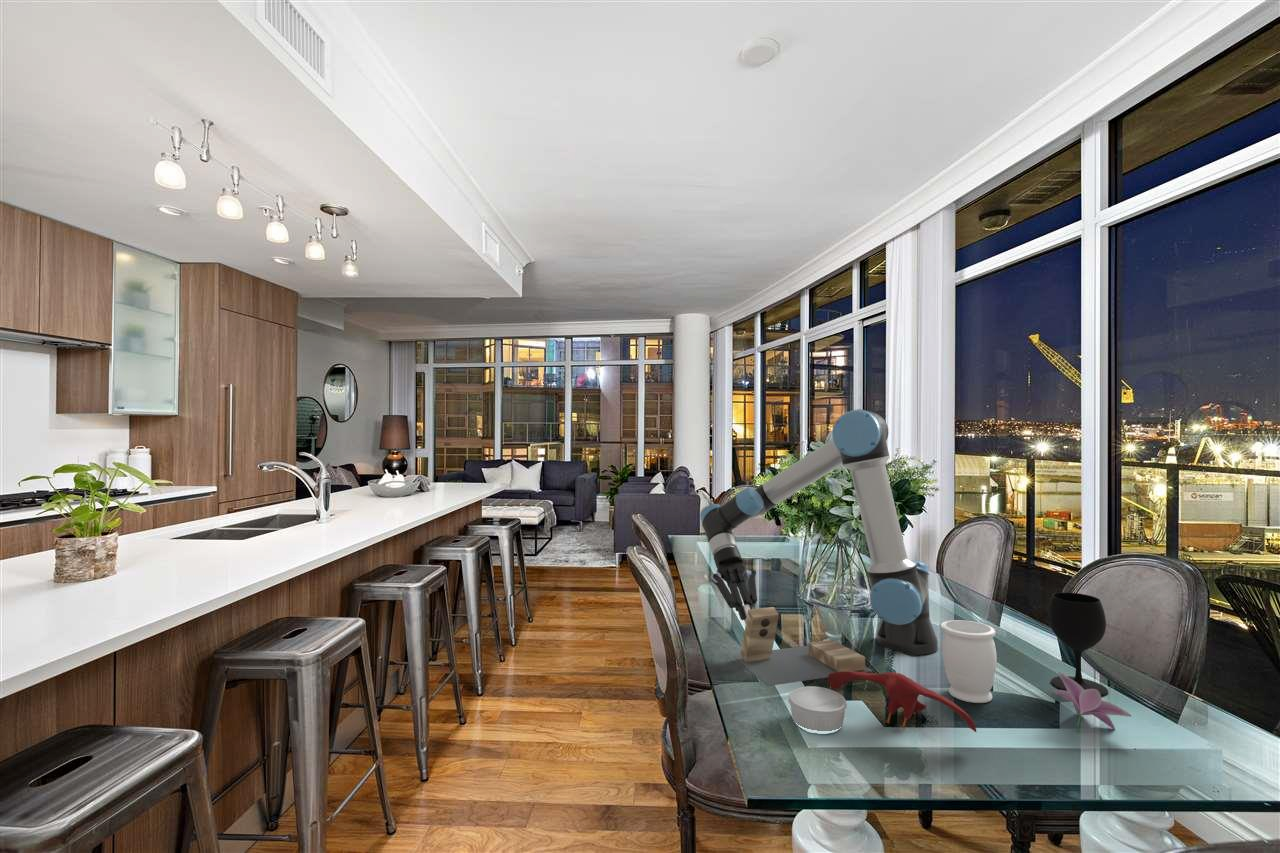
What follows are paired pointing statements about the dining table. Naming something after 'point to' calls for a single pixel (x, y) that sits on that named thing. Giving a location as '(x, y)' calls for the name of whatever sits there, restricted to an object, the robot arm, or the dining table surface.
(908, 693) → the red dinosaur figurine
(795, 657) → the mat
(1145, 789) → the dining table surface
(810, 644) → the tile one
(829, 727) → the ramekin
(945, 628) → the jar
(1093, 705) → the lily
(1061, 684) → the wine glass
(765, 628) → the tile two
